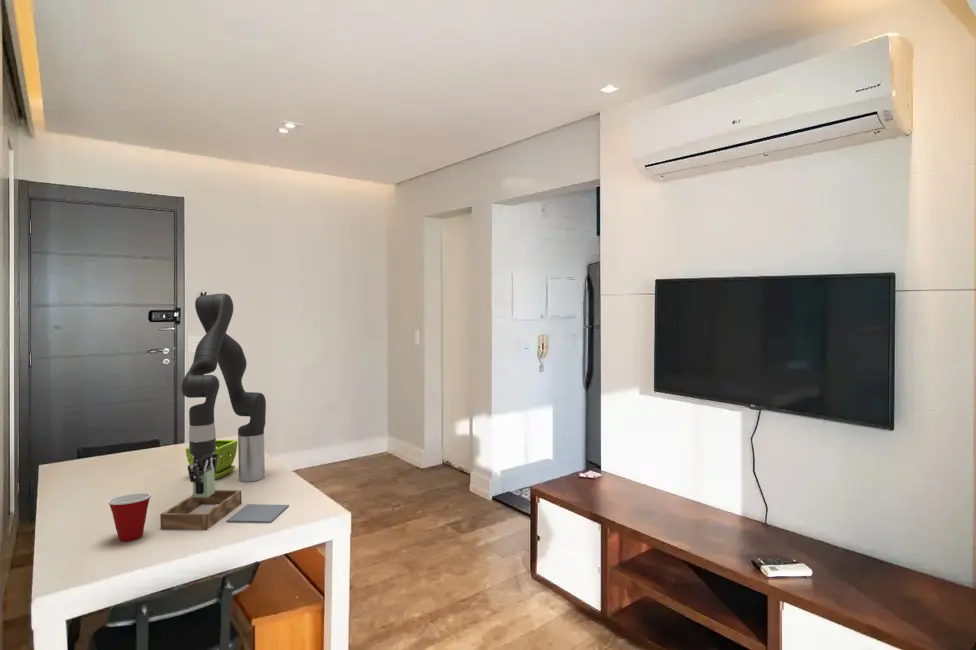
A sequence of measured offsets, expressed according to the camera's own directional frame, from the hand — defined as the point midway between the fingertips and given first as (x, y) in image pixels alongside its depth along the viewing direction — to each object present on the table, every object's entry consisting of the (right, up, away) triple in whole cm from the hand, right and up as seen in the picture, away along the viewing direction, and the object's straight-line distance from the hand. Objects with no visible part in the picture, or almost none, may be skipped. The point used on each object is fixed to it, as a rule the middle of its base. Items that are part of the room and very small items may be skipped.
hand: (204, 490), depth 180 cm
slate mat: (+17, -8, +1) cm, 19 cm away
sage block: (0, -1, 0) cm, 1 cm away
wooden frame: (0, -8, 0) cm, 8 cm away
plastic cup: (-13, -9, -16) cm, 23 cm away
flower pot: (-18, -7, +42) cm, 46 cm away
